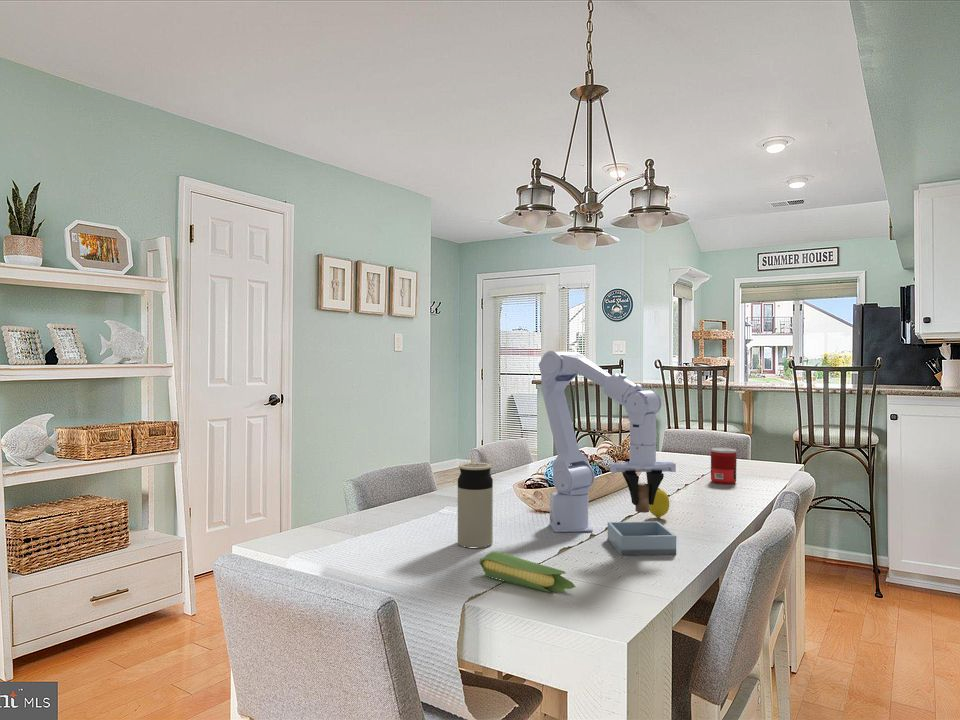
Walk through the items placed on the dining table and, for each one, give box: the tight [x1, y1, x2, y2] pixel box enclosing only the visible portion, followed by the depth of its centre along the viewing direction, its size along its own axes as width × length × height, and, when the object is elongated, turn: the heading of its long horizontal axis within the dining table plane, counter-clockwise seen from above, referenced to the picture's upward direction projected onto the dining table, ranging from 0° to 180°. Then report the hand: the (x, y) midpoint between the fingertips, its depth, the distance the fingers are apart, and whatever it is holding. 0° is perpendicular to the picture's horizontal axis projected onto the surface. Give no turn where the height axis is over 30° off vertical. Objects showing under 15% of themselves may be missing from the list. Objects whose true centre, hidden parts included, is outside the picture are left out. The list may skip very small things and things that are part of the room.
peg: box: [635, 482, 650, 514], centre depth 148 cm, size 3×3×6 cm
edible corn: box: [479, 551, 576, 595], centre depth 124 cm, size 5×20×5 cm
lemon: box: [649, 487, 670, 519], centre depth 172 cm, size 6×6×8 cm
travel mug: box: [457, 461, 494, 548], centre depth 149 cm, size 8×8×18 cm
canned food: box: [710, 447, 738, 485], centre depth 218 cm, size 8×8×11 cm
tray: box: [607, 520, 677, 556], centre depth 147 cm, size 12×12×4 cm
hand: (642, 503), depth 148 cm, fingers closed on peg, 3 cm apart
